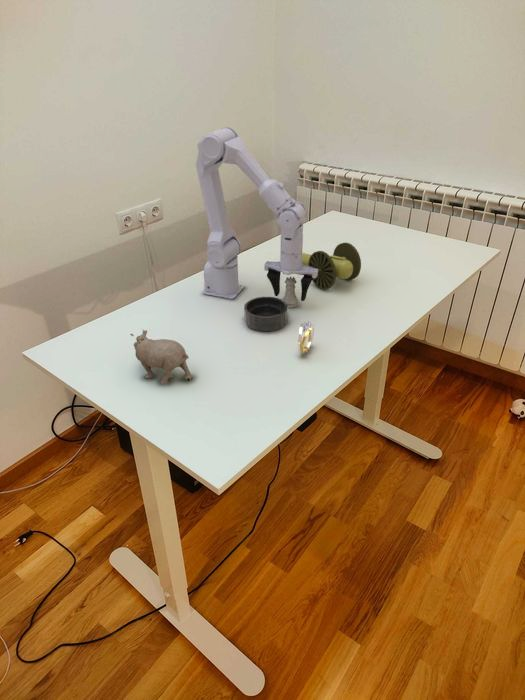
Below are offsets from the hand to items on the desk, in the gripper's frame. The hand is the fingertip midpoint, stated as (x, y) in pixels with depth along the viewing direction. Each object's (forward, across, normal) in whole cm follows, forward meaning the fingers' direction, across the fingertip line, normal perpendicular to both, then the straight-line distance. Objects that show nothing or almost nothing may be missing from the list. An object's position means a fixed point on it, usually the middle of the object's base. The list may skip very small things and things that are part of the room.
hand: (290, 296), depth 139 cm
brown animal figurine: (+3, -18, -40) cm, 44 cm away
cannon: (+3, +3, +20) cm, 20 cm away
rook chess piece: (+3, 0, 0) cm, 3 cm away
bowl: (+2, -3, -11) cm, 12 cm away
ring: (+3, +11, -21) cm, 24 cm away
